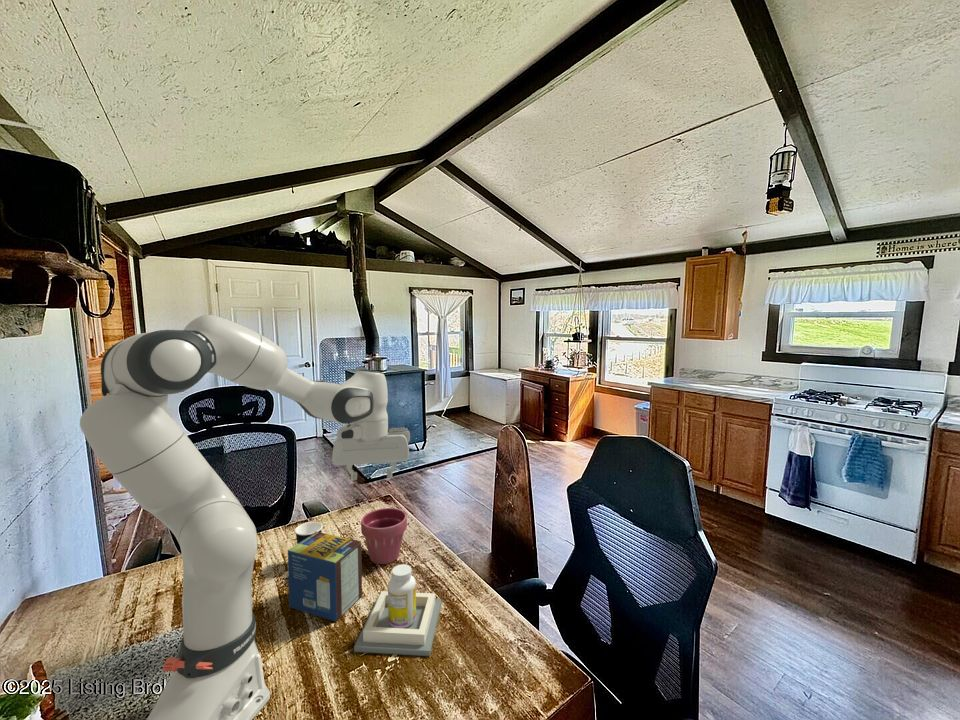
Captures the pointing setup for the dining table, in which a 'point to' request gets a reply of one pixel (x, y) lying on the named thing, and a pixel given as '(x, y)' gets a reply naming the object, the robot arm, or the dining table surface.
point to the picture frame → (400, 640)
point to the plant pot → (384, 533)
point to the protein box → (325, 575)
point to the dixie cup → (307, 530)
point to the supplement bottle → (401, 597)
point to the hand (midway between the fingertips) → (372, 478)
